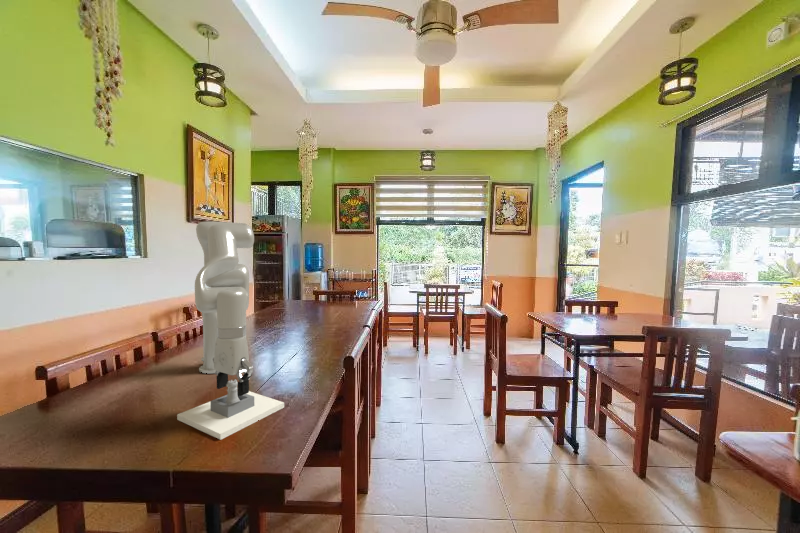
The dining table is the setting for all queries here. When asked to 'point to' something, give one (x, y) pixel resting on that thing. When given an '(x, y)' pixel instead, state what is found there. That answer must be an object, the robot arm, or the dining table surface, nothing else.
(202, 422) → the socket board
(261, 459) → the dining table surface
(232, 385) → the rook chess piece
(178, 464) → the dining table surface
